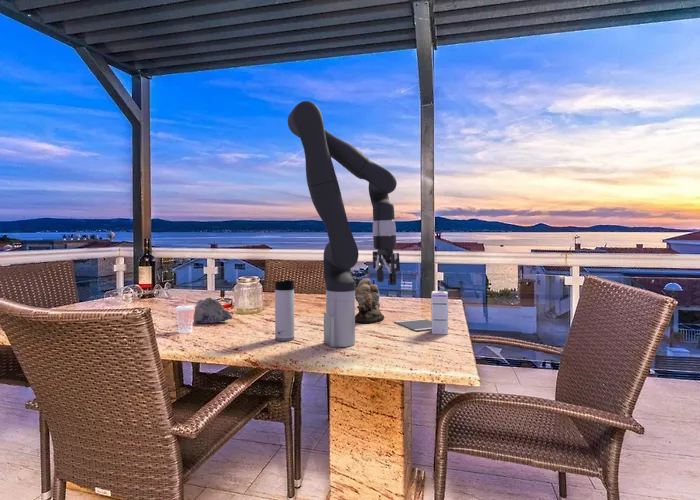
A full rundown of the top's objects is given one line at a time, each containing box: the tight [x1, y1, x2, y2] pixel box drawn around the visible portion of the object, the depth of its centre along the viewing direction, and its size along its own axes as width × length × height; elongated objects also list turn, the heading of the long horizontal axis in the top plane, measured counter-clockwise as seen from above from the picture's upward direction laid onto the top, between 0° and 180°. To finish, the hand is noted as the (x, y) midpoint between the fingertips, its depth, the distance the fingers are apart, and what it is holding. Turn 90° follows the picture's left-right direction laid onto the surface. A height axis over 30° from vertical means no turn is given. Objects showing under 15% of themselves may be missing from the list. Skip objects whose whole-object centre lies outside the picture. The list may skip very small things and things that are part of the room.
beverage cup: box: [175, 292, 195, 334], centre depth 146 cm, size 6×6×14 cm
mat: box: [394, 318, 450, 333], centre depth 157 cm, size 14×16×1 cm
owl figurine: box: [355, 277, 385, 325], centre depth 167 cm, size 18×12×17 cm, turn 159°
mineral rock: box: [193, 297, 233, 324], centre depth 160 cm, size 13×11×10 cm
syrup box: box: [430, 290, 449, 335], centre depth 146 cm, size 6×6×14 cm
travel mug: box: [274, 279, 295, 343], centre depth 136 cm, size 6×7×20 cm
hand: (386, 283), depth 136 cm, fingers open, 8 cm apart
